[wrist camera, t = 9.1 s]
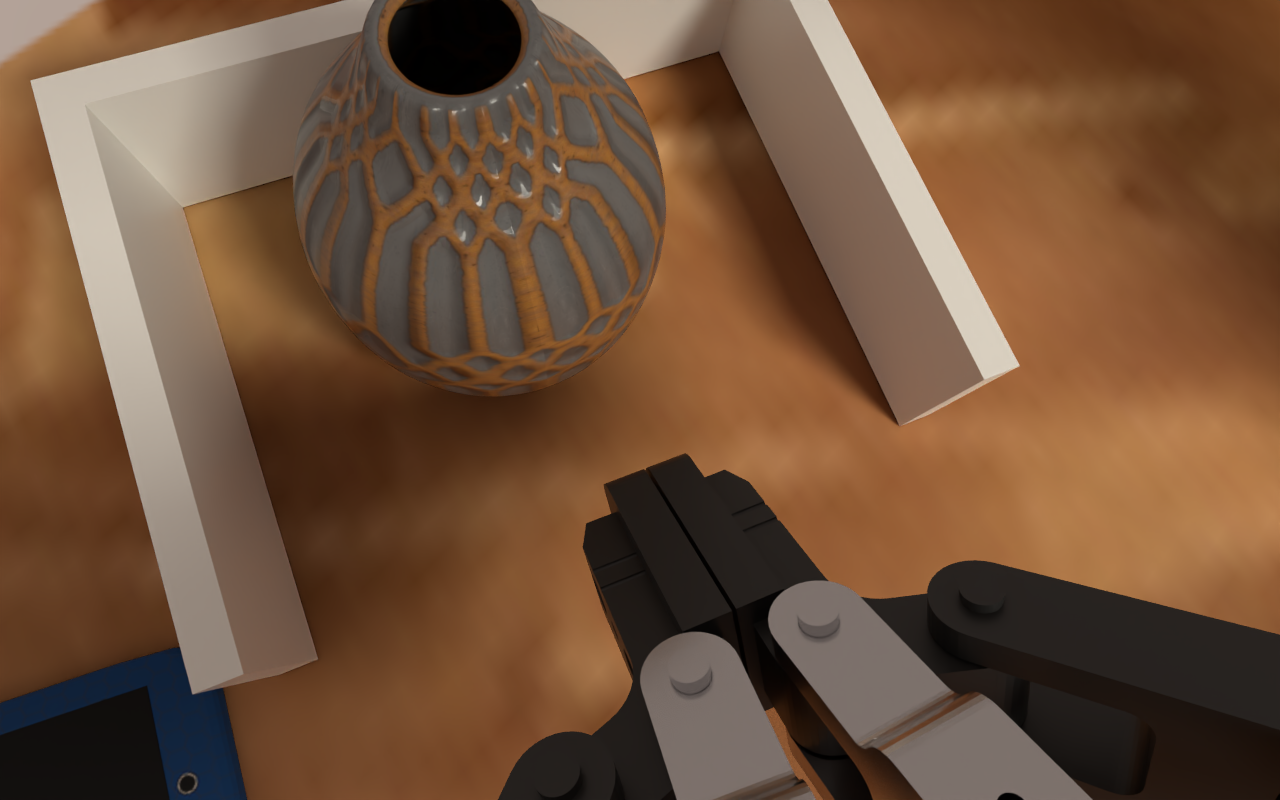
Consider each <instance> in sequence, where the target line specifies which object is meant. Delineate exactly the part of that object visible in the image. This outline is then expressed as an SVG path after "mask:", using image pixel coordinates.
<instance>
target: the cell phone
mask: <svg viewBox="0 0 1280 800" xmlns="http://www.w3.org/2000/svg"><path fill="white" fill-rule="evenodd" d="M0 800H247V797H246V792H245V787H244V783H243V778H242V774H241V769H240V764H239V760H238V755H237V751H236V746H235V742H234V737H233V732H232V728H231V723H230V719H229V714H228V709H227V705H226V700H225V696H224V691H223V688H219V689H214V690H210V691H206V692H201V693H197V694H192V690H191V687H190V683H189V679H188V675H187V672H186V668H185V664H184V660H183V656H182V653H181V649H180V647H179V648H171V649H168V650H164V651H161V652H157V653H154V654H150V655H147V656H143V657H140V658H136V659H133V660H129V661H126V662H122V663H119V664H115V665H112V666H109V667H106V668H103V669H100V670H97V671H94V672H91V673H88V674H85V675H82V676H79V677H76V678H73V679H70V680H67V681H64V682H61V683H58V684H55V685H52V686H50V687H47V688H44V689H41V690H38V691H35V692H32V693H29V694H26V695H23V696H20V697H17V698H14V699H11V700H8V701H5V702H2V703H0Z"/></svg>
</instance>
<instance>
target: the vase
mask: <svg viewBox="0 0 1280 800" xmlns="http://www.w3.org/2000/svg"><path fill="white" fill-rule="evenodd" d="M293 195H294V206H295V215H296V220H297V226H298V230H299V235H300V240H301V243H302V246H303V249H304V253H305V255H306V258H307V261H308V263H309V266H310V268H311V271H312V273H313V276H314V277H315V279H316V281H317V283H318V285H319V287H320V289H321V290H322V292H323V294H324V295H325V297H326V298H327V300H328V302H329V303H330V305H331V306H332V308H333V309H334V310H335V312H336V313H337V314H338V316H339V317H340V318H341V320H342V321H343V322H344V323H345V324H346V325H347V326H348V328H349V329H350V330H351V331H352V332H353V333H354V334H355V335H356V337H357V338H358V339H359V340H361V341H362V342H363V343H364V344H365V345H366V346H367V347H368V348H369V349H370V350H372V351H373V352H374V353H375V354H376V355H378V356H379V357H380V358H381V359H383V360H384V361H385V362H387V363H388V364H390V365H391V366H393V367H394V368H395V369H397V370H399V371H401V372H402V373H404V374H406V375H408V376H410V377H412V378H414V379H416V380H418V381H421V382H423V383H426V384H429V385H431V386H434V387H437V388H441V389H444V390H448V391H451V392H456V393H461V394H467V395H474V396H509V395H517V394H523V393H528V392H532V391H536V390H540V389H543V388H546V387H549V386H552V385H554V384H557V383H559V382H561V381H563V380H565V379H567V378H569V377H571V376H573V375H575V374H577V373H578V372H580V371H582V370H583V369H585V368H586V367H588V366H589V365H590V364H592V363H593V362H594V361H596V360H597V359H598V358H599V357H600V356H602V355H603V354H604V353H605V352H606V351H608V350H609V349H610V348H611V347H612V346H613V345H614V344H615V343H616V342H617V340H618V339H619V338H620V337H621V336H622V335H623V333H624V332H625V331H626V330H627V328H628V327H629V325H630V324H631V323H632V321H633V319H634V318H635V316H636V314H637V313H638V311H639V309H640V307H641V305H642V303H643V301H644V299H645V297H646V295H647V293H648V291H649V289H650V286H651V283H652V281H653V278H654V275H655V272H656V269H657V266H658V262H659V259H660V254H661V249H662V244H663V238H664V231H665V221H666V203H665V186H664V180H663V173H662V168H661V163H660V159H659V155H658V151H657V148H656V145H655V142H654V139H653V136H652V132H651V129H650V127H649V125H648V122H647V120H646V118H645V115H644V113H643V111H642V109H641V107H640V105H639V103H638V101H637V99H636V97H635V96H634V94H633V93H632V91H631V89H630V88H629V86H628V85H627V83H626V82H625V80H624V79H623V78H622V76H621V75H620V73H619V72H618V71H617V69H616V68H615V67H614V66H613V65H612V64H611V63H610V61H609V60H608V59H607V58H606V57H605V56H604V55H603V54H602V53H601V52H600V51H598V50H597V49H596V48H595V47H594V46H593V45H592V44H591V43H590V42H588V41H587V40H586V39H585V38H584V37H582V36H581V35H579V34H578V33H577V32H575V31H574V30H572V29H571V28H569V27H568V26H566V25H564V24H563V23H561V22H559V21H558V20H556V19H554V18H552V17H550V16H548V15H546V14H544V13H542V12H540V11H539V10H538V9H537V7H536V6H535V4H534V3H533V2H532V0H374V2H373V3H372V5H371V7H370V9H369V11H368V14H367V16H366V19H365V22H364V25H363V29H362V32H361V33H360V34H359V35H358V36H357V37H356V38H355V39H354V40H352V41H351V42H350V43H349V44H348V45H347V46H346V47H345V48H344V49H343V50H342V51H341V53H340V54H339V55H338V56H337V57H336V58H335V59H334V61H333V62H332V63H331V64H330V65H329V67H328V68H327V70H326V71H325V73H324V74H323V76H322V77H321V79H320V81H319V82H318V84H317V86H316V88H315V89H314V91H313V93H312V95H311V97H310V99H309V101H308V104H307V106H306V108H305V111H304V114H303V117H302V121H301V124H300V128H299V132H298V136H297V140H296V146H295V153H294V167H293Z"/></svg>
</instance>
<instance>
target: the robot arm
mask: <svg viewBox="0 0 1280 800" xmlns="http://www.w3.org/2000/svg"><path fill="white" fill-rule="evenodd" d="M604 489H605V493H606V497H607V500H608V503H609V507H610V510H611V514H610V515H607V516H604V517H602V518H599V519H597V520H594V521H591V522H589V523H586V529H585V536H584V543H583V550H584V553H585V556H586V559H587V562H588V565H589V568H590V571H591V574H592V577H593V580H594V583H595V586H596V589H597V593H598V596H599V599H600V602H601V605H602V608H603V611H604V613H605V615H606V618H607V620H608V623H609V625H610V627H611V630H612V632H613V634H614V637H615V639H616V642H617V644H618V647H619V649H620V651H621V653H622V656H623V658H624V661H625V663H626V666H627V668H628V670H629V673H630V675H631V678H632V680H633V683H632V687H631V690H630V693H629V695H628V698H627V699H626V701H625V703H624V704H623V706H622V707H621V709H620V710H619V711H618V712H617V714H616V715H614V716H613V717H612V718H611V719H610V720H609V721H608V722H607V723H606V724H605V725H603V726H602V727H601V728H600V729H599V730H597V731H596V732H595V733H594V734H593V735H589V734H585V733H582V732H562V733H557V734H554V735H551V736H548V737H546V738H544V739H542V740H540V741H539V742H537V743H536V744H534V745H533V746H532V747H530V748H529V749H528V750H527V751H526V752H525V753H524V754H523V755H522V756H521V757H520V759H519V760H518V761H517V763H516V764H515V766H514V768H513V770H512V771H511V773H510V776H509V778H508V780H507V782H506V784H505V786H504V788H503V790H502V792H501V795H500V797H499V799H498V800H816V799H815V797H814V795H813V793H812V792H811V790H810V788H809V787H808V785H807V784H806V782H805V781H804V780H803V779H800V780H799V779H798V778H797V777H796V775H795V774H794V772H793V770H792V768H791V766H790V764H789V762H788V760H787V758H786V756H785V753H784V751H783V749H782V747H781V745H780V743H779V741H778V739H777V736H776V734H775V732H774V730H773V728H772V726H771V724H770V722H769V719H768V717H767V715H766V713H765V711H766V710H768V709H770V708H773V707H774V708H775V710H776V711H777V713H778V715H779V716H780V718H781V720H782V721H783V723H784V725H785V727H786V733H787V739H788V744H789V747H790V750H791V752H792V754H793V756H794V758H795V759H796V760H797V762H798V763H799V765H800V766H801V768H802V769H803V771H804V772H805V774H806V775H807V776H808V778H809V779H810V781H811V782H812V784H813V785H814V787H815V788H816V790H817V791H818V792H819V794H820V795H821V797H822V798H823V800H1280V635H1279V634H1275V633H1271V632H1267V631H1263V630H1259V629H1255V628H1251V627H1247V626H1243V625H1239V624H1235V623H1231V622H1227V621H1223V620H1219V619H1215V618H1211V617H1207V616H1203V615H1199V614H1195V613H1191V612H1187V611H1183V610H1179V609H1175V608H1171V607H1167V606H1163V605H1159V604H1155V603H1151V602H1147V601H1143V600H1139V599H1135V598H1131V597H1127V596H1123V595H1119V594H1115V593H1112V592H1108V591H1104V590H1100V589H1096V588H1092V587H1088V586H1084V585H1080V584H1076V583H1072V582H1068V581H1064V580H1060V579H1056V578H1052V577H1048V576H1044V575H1040V574H1036V573H1032V572H1028V571H1024V570H1020V569H1016V568H1012V567H1008V566H1004V565H1000V564H996V563H992V562H987V561H976V560H974V561H962V562H957V563H954V564H951V565H949V566H946V567H944V568H943V569H941V570H940V571H939V572H937V573H936V574H935V575H934V577H933V578H932V579H931V581H930V583H929V586H928V590H927V594H920V595H912V596H904V597H896V598H887V599H870V598H864V597H860V596H859V595H858V594H856V593H855V592H854V591H852V590H851V589H849V588H848V587H845V586H843V585H841V584H838V583H834V582H829V581H828V580H827V579H826V578H825V577H824V576H823V574H822V573H821V572H820V571H819V569H818V568H817V567H816V566H815V564H814V563H813V562H812V561H811V559H810V558H809V557H808V556H807V554H806V553H805V552H804V551H803V549H802V548H801V547H800V546H799V544H798V543H797V542H796V541H795V539H794V538H793V537H792V535H791V534H790V533H789V532H788V530H787V529H786V528H785V527H784V525H783V524H782V523H781V522H780V520H779V521H778V520H777V517H776V515H775V514H774V513H773V512H772V510H771V509H770V508H769V507H768V505H765V503H764V500H763V499H762V498H761V497H760V495H759V494H758V493H757V492H756V490H755V489H754V488H753V487H752V485H751V484H750V483H749V482H748V481H746V480H744V479H742V478H740V477H738V476H736V475H734V474H732V473H730V472H728V471H726V470H723V471H720V472H718V473H715V474H713V475H710V476H707V477H704V476H703V475H702V473H701V472H700V471H699V469H698V468H697V466H696V465H695V464H694V462H693V461H692V459H691V458H690V457H689V456H688V455H687V454H686V453H685V454H682V455H679V456H677V457H674V458H671V459H669V460H666V461H664V462H661V463H658V464H656V465H653V466H650V467H648V468H646V471H645V470H644V469H643V470H640V471H638V472H635V473H632V474H630V475H627V476H624V477H622V478H619V479H617V480H614V481H611V482H609V483H606V484H604Z"/></svg>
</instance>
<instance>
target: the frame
mask: <svg viewBox="0 0 1280 800" xmlns="http://www.w3.org/2000/svg"><path fill="white" fill-rule="evenodd" d="M373 2H374V0H344V1H340V2H336V3H332V4H328V5H324V6H320V7H316V8H312V9H308V10H304V11H301V12H297V13H293V14H289V15H285V16H281V17H277V18H273V19H269V20H265V21H261V22H257V23H254V24H250V25H246V26H242V27H238V28H234V29H230V30H226V31H222V32H218V33H214V34H210V35H207V36H203V37H199V38H195V39H191V40H187V41H183V42H179V43H175V44H171V45H167V46H163V47H160V48H156V49H152V50H148V51H144V52H140V53H136V54H132V55H128V56H124V57H120V58H116V59H113V60H109V61H105V62H101V63H97V64H93V65H89V66H85V67H81V68H77V69H73V70H69V71H66V72H62V73H58V74H54V75H50V76H46V77H42V78H38V79H34V80H30V81H31V85H32V89H33V93H34V96H35V100H36V104H37V108H38V111H39V115H40V119H41V123H42V127H43V130H44V134H45V138H46V142H47V145H48V149H49V153H50V157H51V161H52V164H53V168H54V172H55V176H56V180H57V183H58V187H59V191H60V195H61V198H62V202H63V206H64V210H65V214H66V217H67V221H68V225H69V229H70V233H71V236H72V240H73V244H74V248H75V251H76V255H77V259H78V263H79V267H80V270H81V274H82V278H83V282H84V286H85V289H86V293H87V297H88V301H89V304H90V308H91V312H92V316H93V320H94V323H95V327H96V331H97V335H98V339H99V342H100V346H101V350H102V354H103V357H104V361H105V365H106V369H107V373H108V376H109V380H110V384H111V388H112V391H113V395H114V399H115V403H116V407H117V410H118V414H119V418H120V422H121V426H122V429H123V433H124V437H125V441H126V444H127V448H128V452H129V456H130V460H131V463H132V467H133V471H134V475H135V479H136V482H137V486H138V490H139V494H140V497H141V501H142V505H143V509H144V513H145V516H146V520H147V524H148V528H149V532H150V535H151V539H152V543H153V547H154V550H155V554H156V558H157V562H158V566H159V569H160V573H161V577H162V581H163V585H164V588H165V592H166V596H167V600H168V603H169V607H170V611H171V615H172V619H173V622H174V626H175V630H176V634H177V637H178V641H179V645H180V649H181V653H182V656H183V660H184V664H185V668H186V672H187V675H188V679H189V683H190V687H191V690H192V694H197V693H201V692H206V691H210V690H214V689H219V688H223V687H228V686H232V685H236V684H241V683H245V682H250V681H254V680H259V679H263V678H267V677H272V676H276V675H280V674H283V673H285V672H288V671H290V670H293V669H295V668H298V667H300V666H303V665H305V664H308V663H310V662H313V661H315V660H318V657H317V654H316V650H315V647H314V644H313V640H312V637H311V634H310V630H309V627H308V624H307V620H306V617H305V614H304V610H303V607H302V604H301V600H300V597H299V594H298V590H297V587H296V584H295V580H294V577H293V574H292V570H291V567H290V564H289V560H288V557H287V554H286V550H285V547H284V544H283V540H282V537H281V534H280V530H279V527H278V524H277V520H276V517H275V514H274V510H273V507H272V503H271V500H270V497H269V493H268V490H267V487H266V483H265V480H264V477H263V473H262V470H261V467H260V463H259V460H258V457H257V453H256V450H255V447H254V443H253V440H252V437H251V433H250V430H249V427H248V423H247V420H246V417H245V413H244V410H243V407H242V403H241V400H240V397H239V393H238V390H237V387H236V383H235V380H234V377H233V373H232V370H231V367H230V363H229V360H228V357H227V353H226V350H225V347H224V343H223V340H222V337H221V333H220V330H219V327H218V323H217V320H216V317H215V313H214V310H213V307H212V303H211V300H210V297H209V293H208V290H207V287H206V283H205V280H204V277H203V273H202V270H201V267H200V263H199V260H198V257H197V253H196V250H195V247H194V243H193V240H192V237H191V233H190V230H189V227H188V223H187V220H186V217H185V213H184V210H183V207H186V206H189V205H193V204H196V203H200V202H203V201H207V200H210V199H213V198H217V197H220V196H224V195H227V194H231V193H234V192H238V191H241V190H244V189H248V188H251V187H255V186H258V185H262V184H265V183H268V182H272V181H275V180H279V179H282V178H286V177H289V176H292V175H293V167H294V153H295V146H296V140H297V136H298V132H299V128H300V124H301V121H302V117H303V114H304V111H305V108H306V106H307V104H308V101H309V99H310V97H311V95H312V93H313V91H314V89H315V88H316V86H317V84H318V82H319V81H320V79H321V77H322V76H323V74H324V73H325V71H326V70H327V68H328V67H329V65H330V64H331V63H332V62H333V61H334V59H335V58H336V57H337V56H338V55H339V54H340V53H341V51H342V50H343V49H344V48H345V47H346V46H347V45H348V44H349V43H350V42H351V41H352V40H354V39H355V38H356V37H357V36H358V35H359V34H360V33H361V32H362V29H363V25H364V22H365V19H366V16H367V14H368V11H369V9H370V7H371V5H372V3H373ZM532 2H533V3H534V4H535V6H536V7H537V9H538V10H539V11H540V12H542V13H544V14H546V15H548V16H550V17H552V18H554V19H556V20H558V21H559V22H561V23H563V24H564V25H566V26H568V27H569V28H571V29H572V30H574V31H575V32H577V33H578V34H579V35H581V36H582V37H584V38H585V39H586V40H587V41H588V42H590V43H591V44H592V45H593V46H594V47H595V48H596V49H597V50H598V51H600V52H601V53H602V54H603V55H604V56H605V57H606V58H607V59H608V60H609V61H610V63H611V64H612V65H613V66H614V67H615V68H616V69H617V71H618V72H619V73H620V75H621V76H622V78H623V79H626V78H629V77H632V76H636V75H639V74H643V73H646V72H650V71H653V70H656V69H660V68H663V67H667V66H670V65H674V64H677V63H681V62H684V61H687V60H691V59H694V58H698V57H701V56H705V55H708V54H711V53H715V52H718V51H719V52H720V54H721V56H722V58H723V61H724V63H725V65H726V67H727V69H728V71H729V73H730V75H731V77H732V79H733V81H734V83H735V85H736V87H737V90H738V92H739V94H740V96H741V98H742V100H743V102H744V104H745V106H746V108H747V110H748V112H749V114H750V117H751V119H752V121H753V123H754V125H755V127H756V129H757V131H758V133H759V135H760V137H761V139H762V141H763V144H764V146H765V148H766V150H767V152H768V154H769V156H770V158H771V160H772V162H773V164H774V166H775V168H776V170H777V173H778V175H779V177H780V179H781V181H782V183H783V185H784V187H785V189H786V191H787V193H788V195H789V197H790V200H791V202H792V204H793V206H794V208H795V210H796V212H797V214H798V216H799V218H800V220H801V222H802V224H803V226H804V229H805V231H806V233H807V235H808V237H809V239H810V241H811V243H812V245H813V247H814V249H815V251H816V253H817V256H818V258H819V260H820V262H821V264H822V266H823V268H824V270H825V272H826V274H827V276H828V278H829V280H830V282H831V285H832V287H833V289H834V291H835V293H836V295H837V297H838V299H839V301H840V303H841V305H842V307H843V309H844V312H845V314H846V316H847V318H848V320H849V322H850V324H851V326H852V328H853V330H854V332H855V334H856V336H857V339H858V341H859V343H860V345H861V347H862V349H863V351H864V353H865V355H866V357H867V359H868V361H869V363H870V365H871V368H872V370H873V372H874V374H875V376H876V378H877V380H878V382H879V384H880V386H881V388H882V390H883V392H884V395H885V397H886V399H887V401H888V403H889V405H890V407H891V409H892V411H893V413H894V415H895V417H896V419H897V421H898V424H899V426H902V425H904V424H907V423H909V422H912V421H914V420H917V419H919V418H922V417H924V416H927V415H929V414H931V413H933V412H935V411H936V410H938V409H940V408H942V407H944V406H946V405H948V404H949V403H951V402H953V401H955V400H957V399H959V398H961V397H962V396H964V395H966V394H968V393H970V392H972V391H974V390H976V389H977V388H979V387H981V386H983V385H985V384H987V383H989V382H990V381H992V380H994V379H996V378H998V377H1000V376H1002V375H1003V374H1005V373H1007V372H1009V371H1011V370H1013V369H1015V368H1016V367H1018V366H1019V364H1018V362H1017V360H1016V358H1015V356H1014V354H1013V352H1012V350H1011V349H1010V347H1009V345H1008V343H1007V341H1006V339H1005V337H1004V335H1003V333H1002V331H1001V329H1000V328H999V326H998V324H997V322H996V320H995V318H994V316H993V314H992V312H991V310H990V308H989V307H988V305H987V303H986V301H985V299H984V297H983V295H982V293H981V291H980V289H979V287H978V286H977V284H976V282H975V280H974V278H973V276H972V274H971V272H970V270H969V268H968V267H967V265H966V263H965V261H964V259H963V257H962V255H961V253H960V251H959V249H958V247H957V246H956V244H955V242H954V240H953V238H952V236H951V234H950V232H949V230H948V228H947V226H946V225H945V223H944V221H943V219H942V217H941V215H940V213H939V211H938V209H937V207H936V205H935V204H934V202H933V200H932V198H931V196H930V194H929V192H928V190H927V188H926V186H925V185H924V183H923V181H922V179H921V177H920V175H919V173H918V171H917V169H916V167H915V165H914V164H913V162H912V160H911V158H910V156H909V154H908V152H907V150H906V148H905V146H904V144H903V143H902V141H901V139H900V137H899V135H898V133H897V131H896V129H895V127H894V125H893V124H892V122H891V120H890V118H889V116H888V114H887V112H886V110H885V108H884V106H883V104H882V103H881V101H880V99H879V97H878V95H877V93H876V91H875V89H874V87H873V85H872V83H871V82H870V80H869V78H868V76H867V74H866V72H865V70H864V68H863V66H862V64H861V62H860V61H859V59H858V57H857V55H856V53H855V51H854V49H853V47H852V45H851V43H850V42H849V40H848V38H847V36H846V34H845V32H844V30H843V28H842V26H841V24H840V22H839V21H838V19H837V17H836V15H835V13H834V11H833V9H832V7H831V5H830V3H829V1H828V0H532Z"/></svg>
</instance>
